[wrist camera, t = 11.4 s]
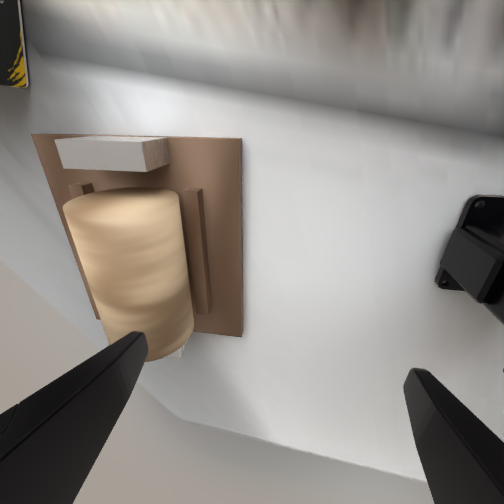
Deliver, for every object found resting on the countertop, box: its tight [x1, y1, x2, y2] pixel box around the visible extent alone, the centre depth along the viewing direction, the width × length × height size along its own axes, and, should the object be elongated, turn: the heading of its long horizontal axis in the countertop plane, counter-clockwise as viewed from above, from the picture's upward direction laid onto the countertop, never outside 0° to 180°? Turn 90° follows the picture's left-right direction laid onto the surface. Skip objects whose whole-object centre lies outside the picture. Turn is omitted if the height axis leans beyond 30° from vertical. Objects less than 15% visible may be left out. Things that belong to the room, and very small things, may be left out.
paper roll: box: [63, 187, 194, 362], centre depth 17 cm, size 6×10×6 cm, turn 0°
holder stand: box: [31, 134, 243, 358], centre depth 19 cm, size 14×16×4 cm
